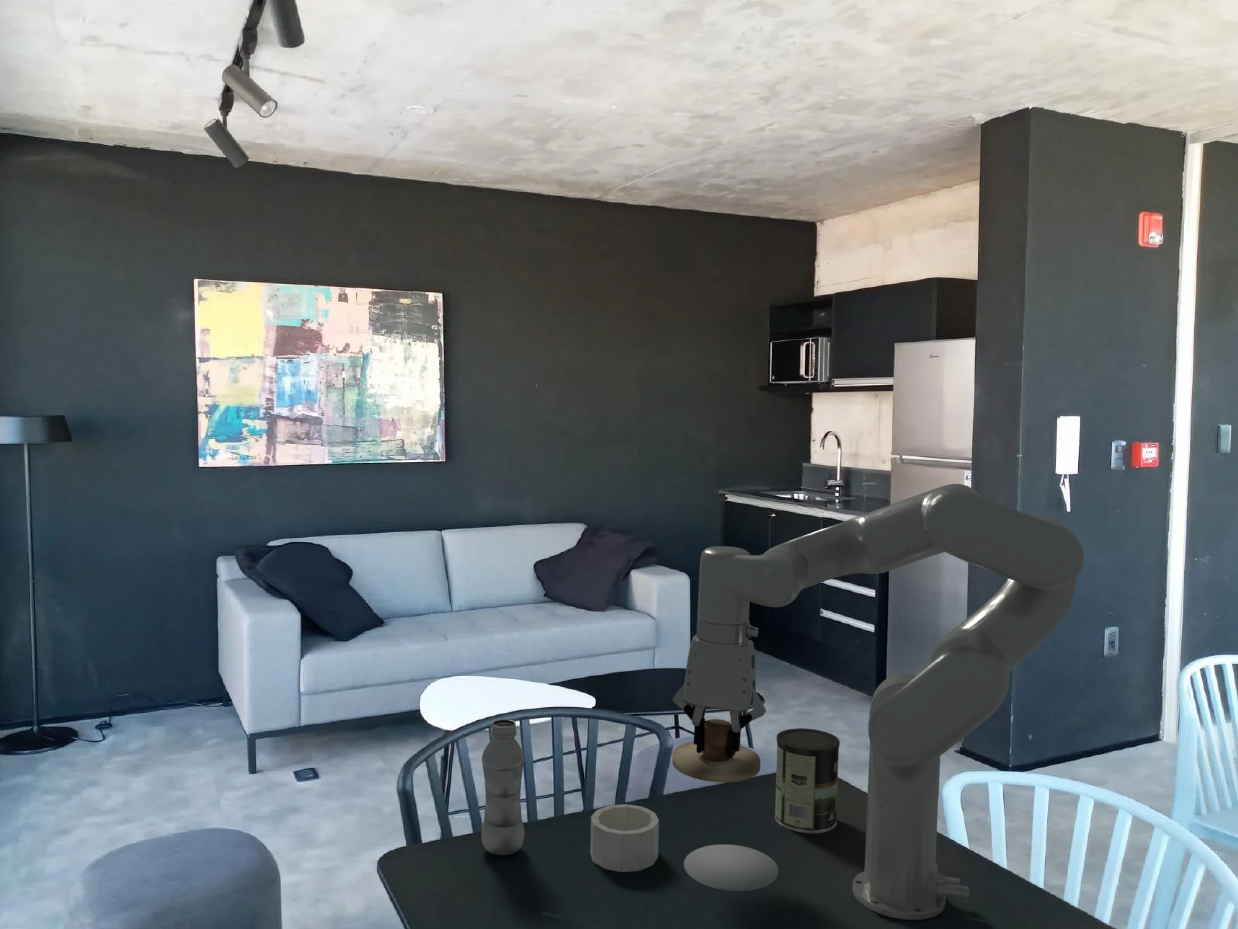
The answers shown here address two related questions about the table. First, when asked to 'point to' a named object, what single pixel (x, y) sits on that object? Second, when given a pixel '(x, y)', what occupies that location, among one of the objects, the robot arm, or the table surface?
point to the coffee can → (806, 780)
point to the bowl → (624, 838)
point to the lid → (716, 757)
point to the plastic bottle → (503, 790)
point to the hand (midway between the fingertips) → (716, 751)
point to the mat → (731, 867)
